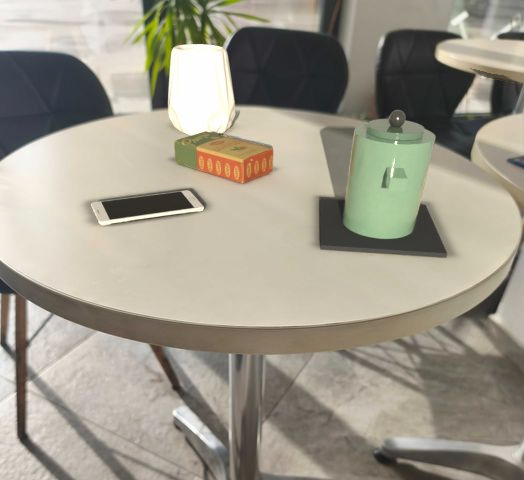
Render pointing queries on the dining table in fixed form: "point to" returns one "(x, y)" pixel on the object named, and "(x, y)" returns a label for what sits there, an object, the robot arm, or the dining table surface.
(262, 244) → the dining table surface
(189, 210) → the smartphone
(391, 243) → the mat
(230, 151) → the carton
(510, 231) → the dining table surface
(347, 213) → the kettle
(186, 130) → the vase
